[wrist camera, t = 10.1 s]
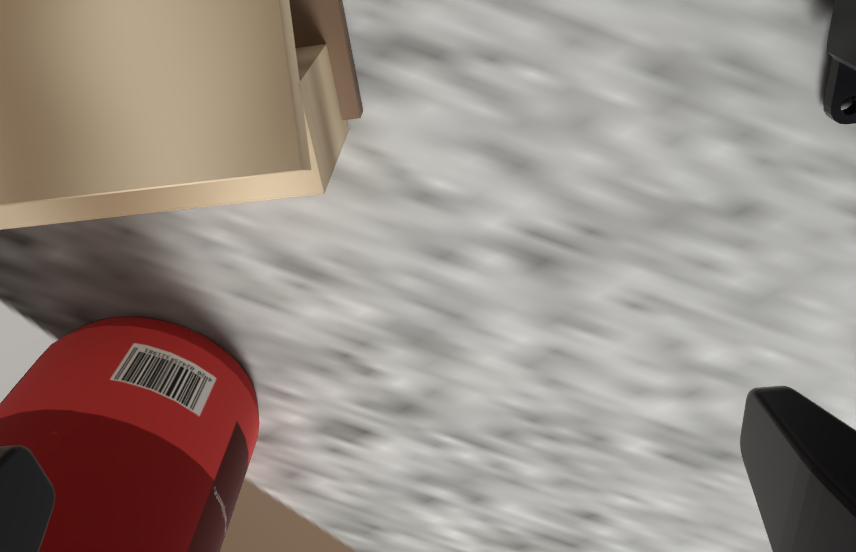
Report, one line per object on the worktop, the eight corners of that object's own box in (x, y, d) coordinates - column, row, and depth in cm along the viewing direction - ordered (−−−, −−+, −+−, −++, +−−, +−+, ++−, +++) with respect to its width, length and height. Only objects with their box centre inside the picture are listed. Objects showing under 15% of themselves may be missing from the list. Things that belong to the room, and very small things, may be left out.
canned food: (4, 323, 23) (-308, 644, 13) (225, 294, 22) (54, 618, 12) (100, 475, 27) (-90, 805, 17) (290, 456, 26) (198, 794, 16)
